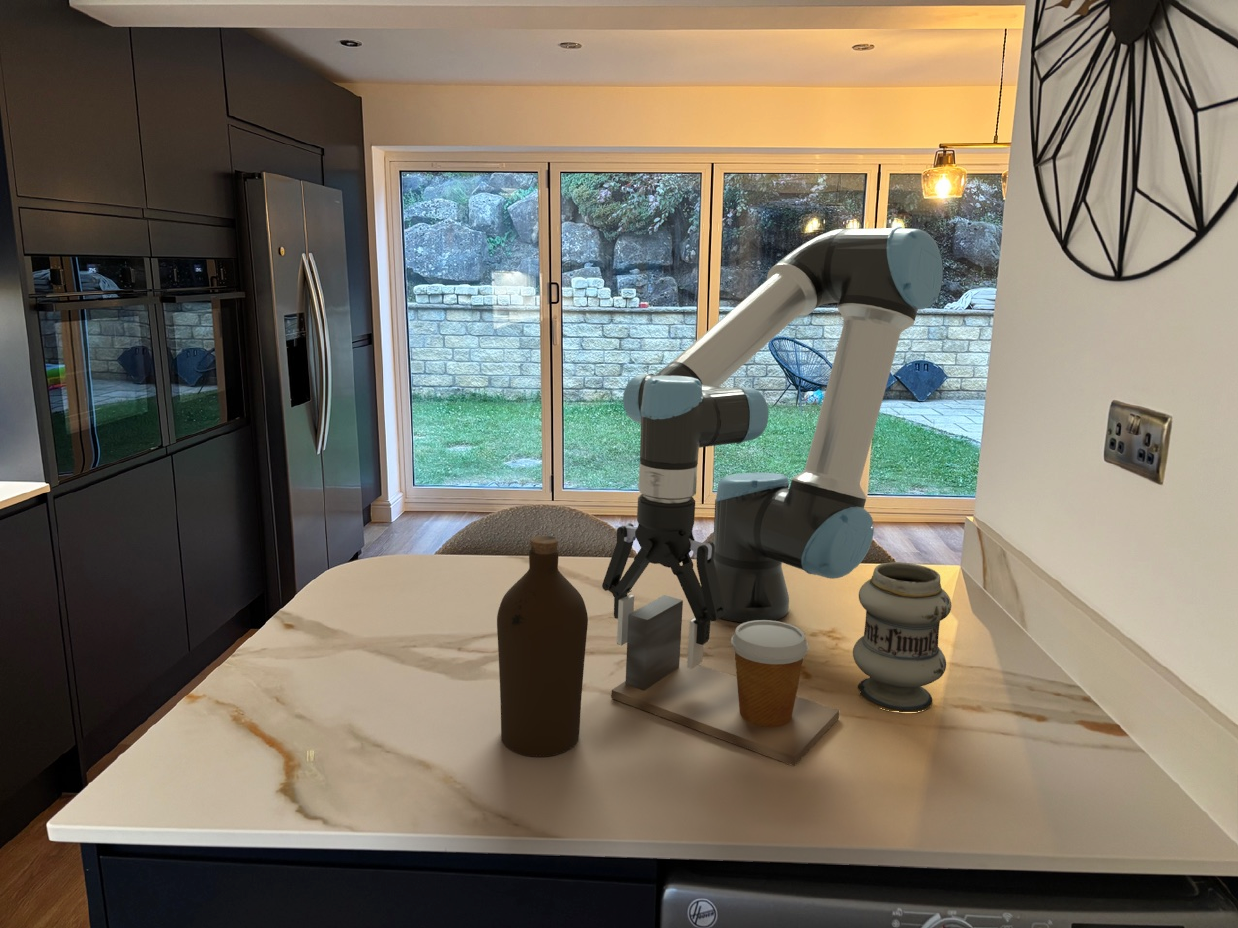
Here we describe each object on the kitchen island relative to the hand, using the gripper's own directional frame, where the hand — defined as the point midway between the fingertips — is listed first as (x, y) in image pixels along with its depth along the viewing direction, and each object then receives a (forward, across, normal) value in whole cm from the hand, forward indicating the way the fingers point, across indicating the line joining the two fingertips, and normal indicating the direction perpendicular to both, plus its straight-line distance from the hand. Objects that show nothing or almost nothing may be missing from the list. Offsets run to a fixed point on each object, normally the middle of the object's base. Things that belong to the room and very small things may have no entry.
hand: (658, 652), depth 119 cm
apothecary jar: (+5, +27, +18) cm, 33 cm away
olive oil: (+5, -4, -20) cm, 21 cm away
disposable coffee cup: (+5, +16, 0) cm, 17 cm away
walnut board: (+5, +10, 0) cm, 11 cm away
